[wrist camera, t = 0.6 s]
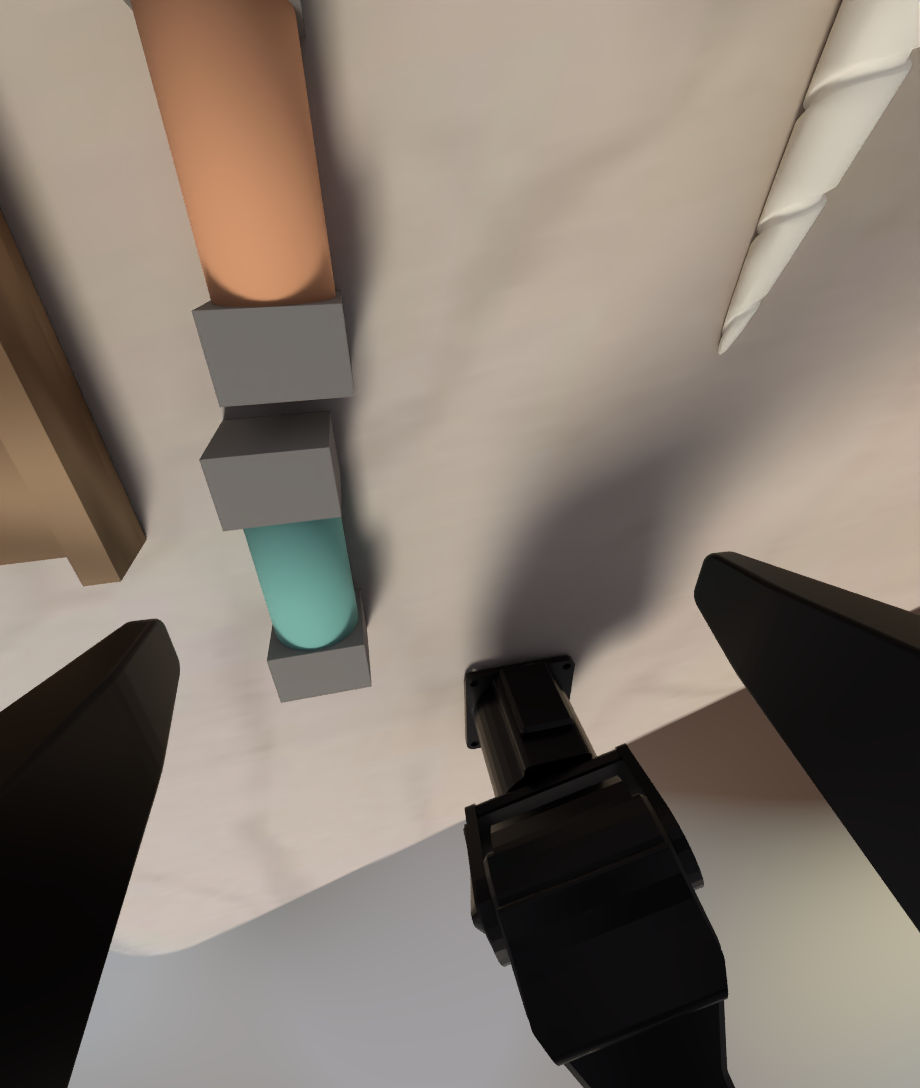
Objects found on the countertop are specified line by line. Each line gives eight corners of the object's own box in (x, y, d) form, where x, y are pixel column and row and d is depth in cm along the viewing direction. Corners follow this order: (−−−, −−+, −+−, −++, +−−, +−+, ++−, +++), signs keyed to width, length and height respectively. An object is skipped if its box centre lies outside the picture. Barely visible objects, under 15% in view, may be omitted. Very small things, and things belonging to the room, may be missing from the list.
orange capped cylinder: (351, 367, 18) (354, 396, 14) (241, 374, 17) (219, 407, 14) (285, -109, 12) (267, -236, 8) (111, -124, 11) (22, -267, 8)
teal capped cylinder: (366, 627, 24) (371, 686, 21) (287, 640, 24) (281, 702, 20) (330, 410, 18) (328, 447, 15) (223, 419, 18) (199, 460, 14)
